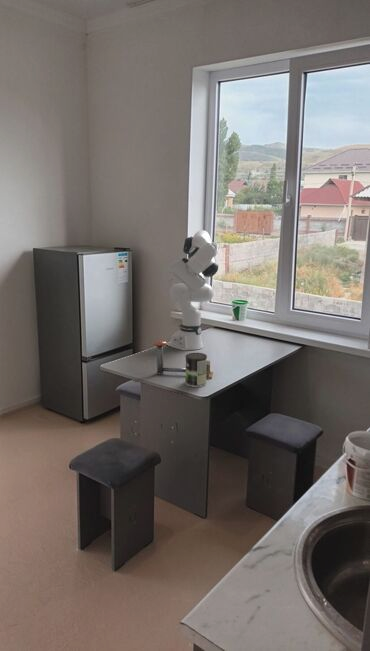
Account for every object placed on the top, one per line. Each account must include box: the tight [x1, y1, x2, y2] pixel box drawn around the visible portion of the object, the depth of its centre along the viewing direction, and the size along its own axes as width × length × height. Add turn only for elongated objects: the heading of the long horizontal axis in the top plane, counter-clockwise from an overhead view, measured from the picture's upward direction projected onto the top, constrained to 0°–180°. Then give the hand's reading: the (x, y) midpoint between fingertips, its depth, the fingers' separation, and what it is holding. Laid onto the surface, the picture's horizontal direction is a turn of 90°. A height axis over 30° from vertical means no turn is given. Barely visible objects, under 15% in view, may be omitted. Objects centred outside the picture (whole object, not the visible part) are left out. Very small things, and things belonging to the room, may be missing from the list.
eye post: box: [206, 360, 214, 380], centre depth 252 cm, size 7×8×7 cm
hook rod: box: [152, 339, 186, 375], centre depth 252 cm, size 22×6×17 cm, turn 82°
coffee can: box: [185, 352, 208, 388], centre depth 241 cm, size 10×10×14 cm
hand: (175, 287), depth 261 cm, fingers open, 8 cm apart
